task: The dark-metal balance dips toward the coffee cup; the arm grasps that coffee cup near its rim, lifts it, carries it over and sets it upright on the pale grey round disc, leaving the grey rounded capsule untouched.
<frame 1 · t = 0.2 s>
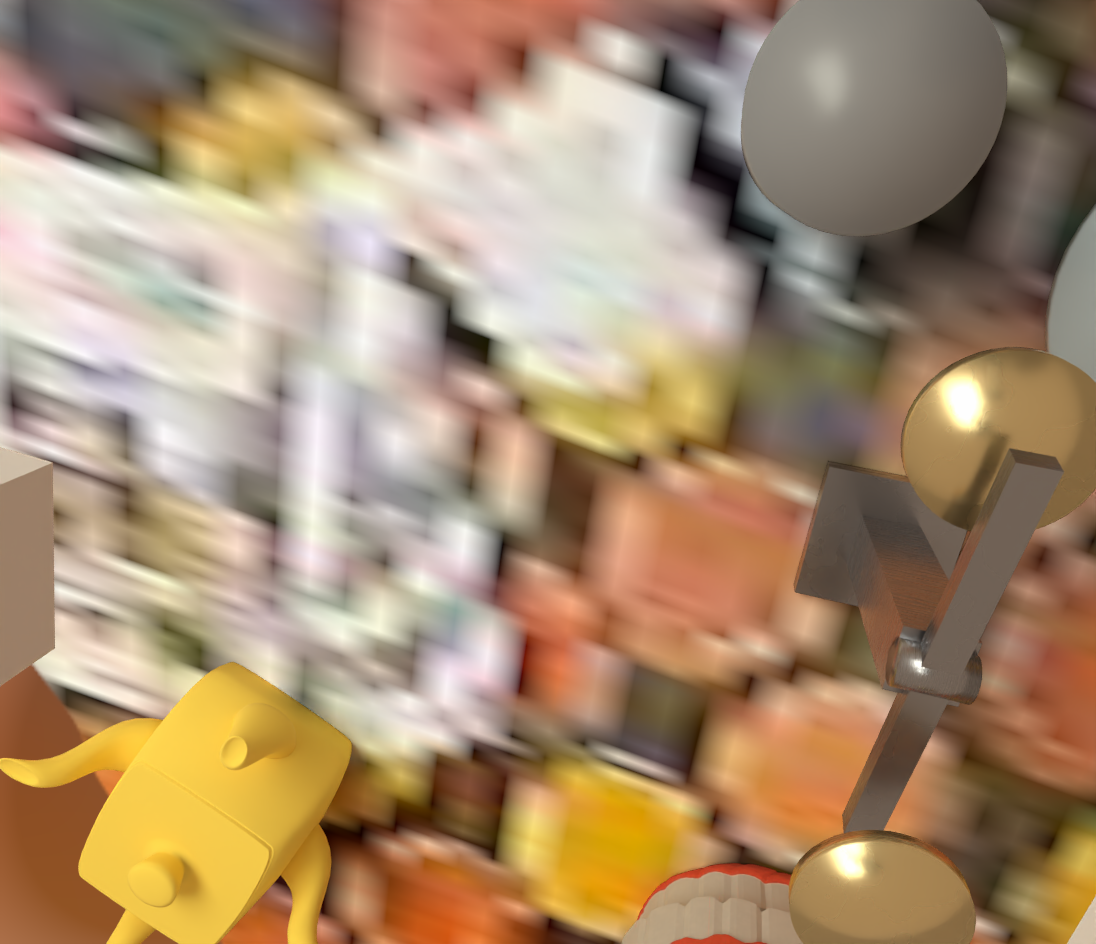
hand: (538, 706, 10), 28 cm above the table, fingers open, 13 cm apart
teapot: (260, 756, 49), on the table
toy: (715, 925, 46), on the table
balance: (880, 538, 37), on the table
grey rounded capsule: (835, 125, 32), on the table
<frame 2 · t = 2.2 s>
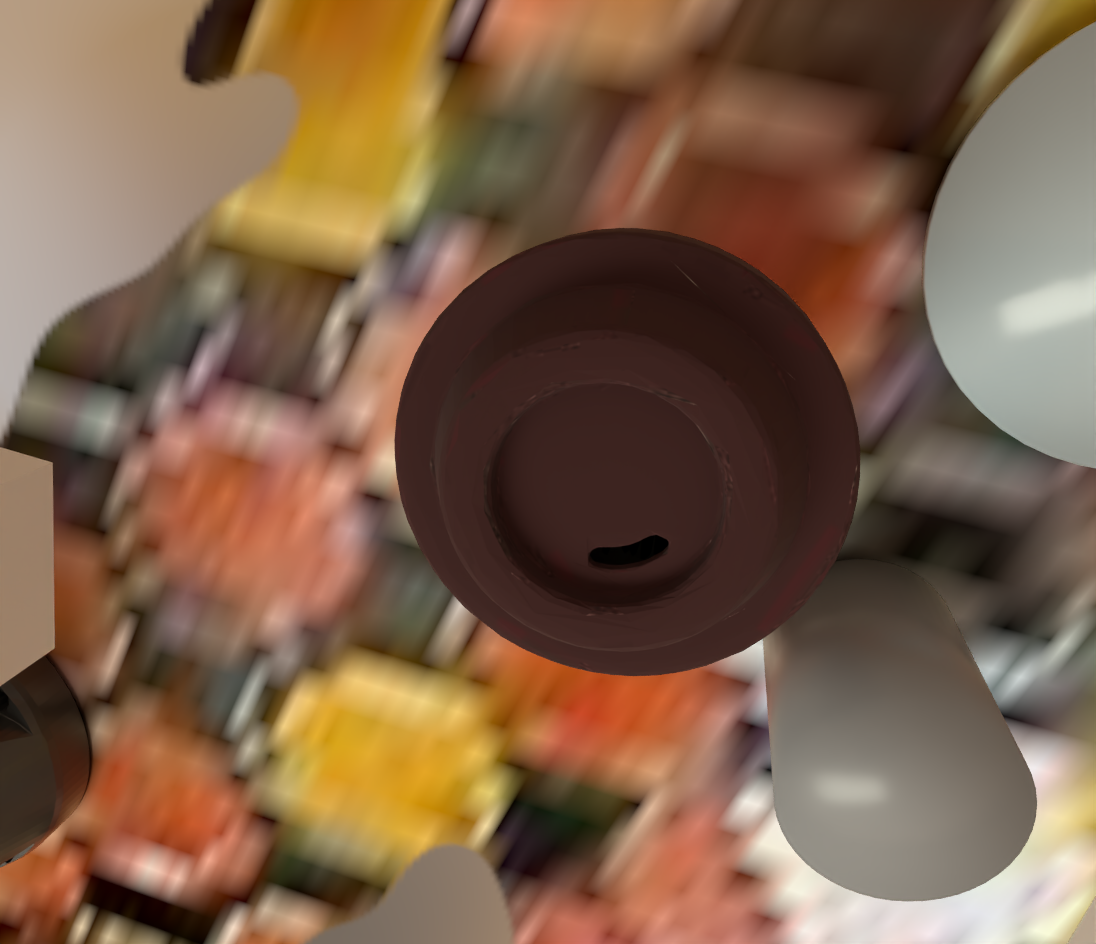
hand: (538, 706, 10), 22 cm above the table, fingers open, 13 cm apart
coffee cup: (662, 351, 30), on the table
grey rounded capsule: (857, 642, 32), on the table
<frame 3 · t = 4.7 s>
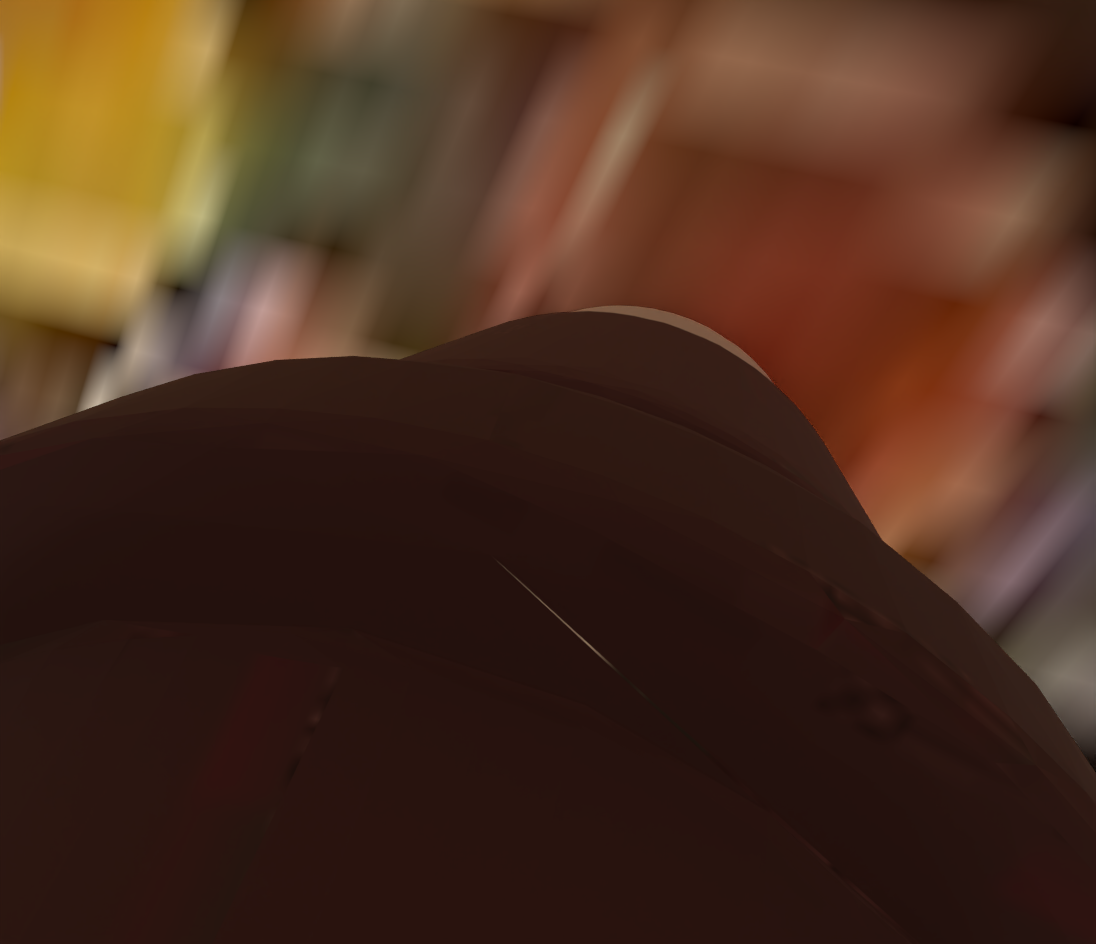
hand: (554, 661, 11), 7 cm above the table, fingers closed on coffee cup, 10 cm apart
coffee cup: (624, 474, 18), on the table, touching gripper
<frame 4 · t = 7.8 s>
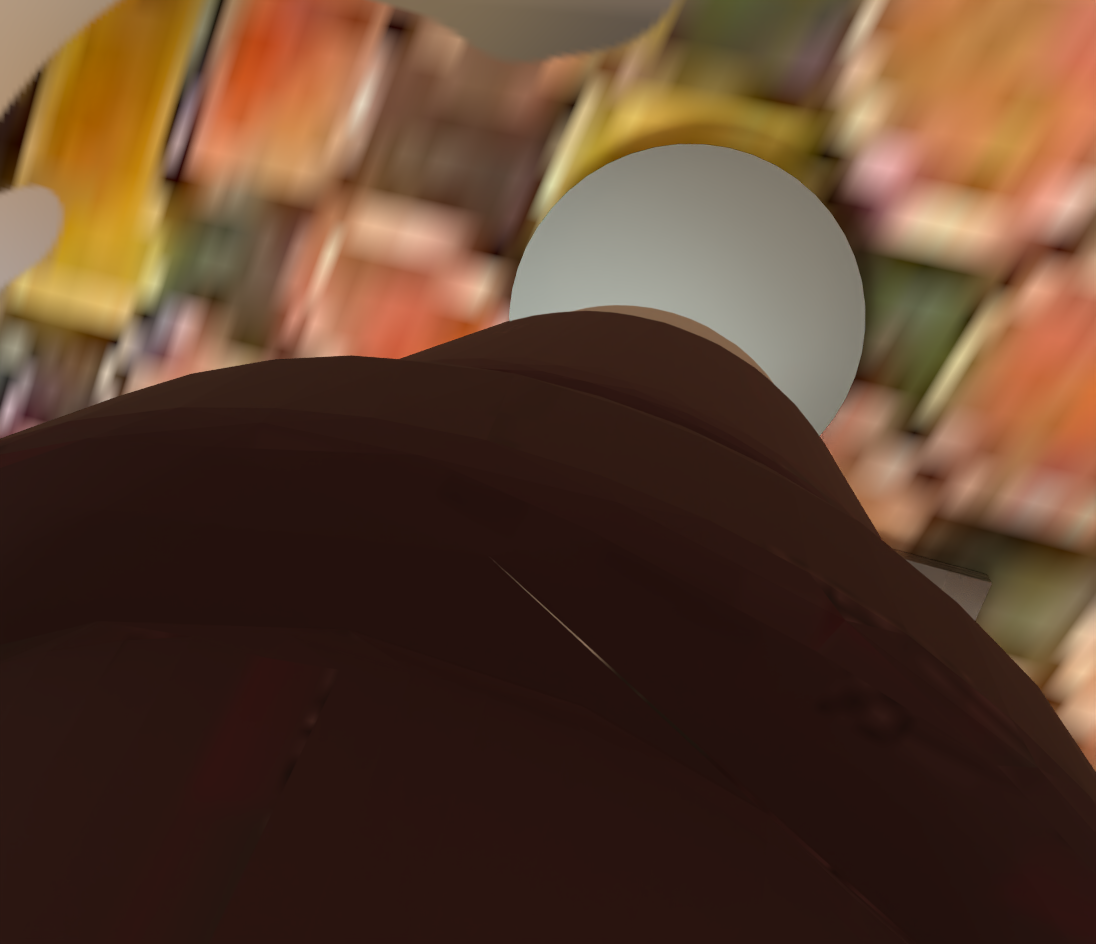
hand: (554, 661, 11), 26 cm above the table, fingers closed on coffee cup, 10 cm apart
pale grey round disc: (681, 327, 35), on the table
coffee cup: (624, 474, 18), point 19 cm above the table, touching gripper
balance: (890, 615, 37), on the table
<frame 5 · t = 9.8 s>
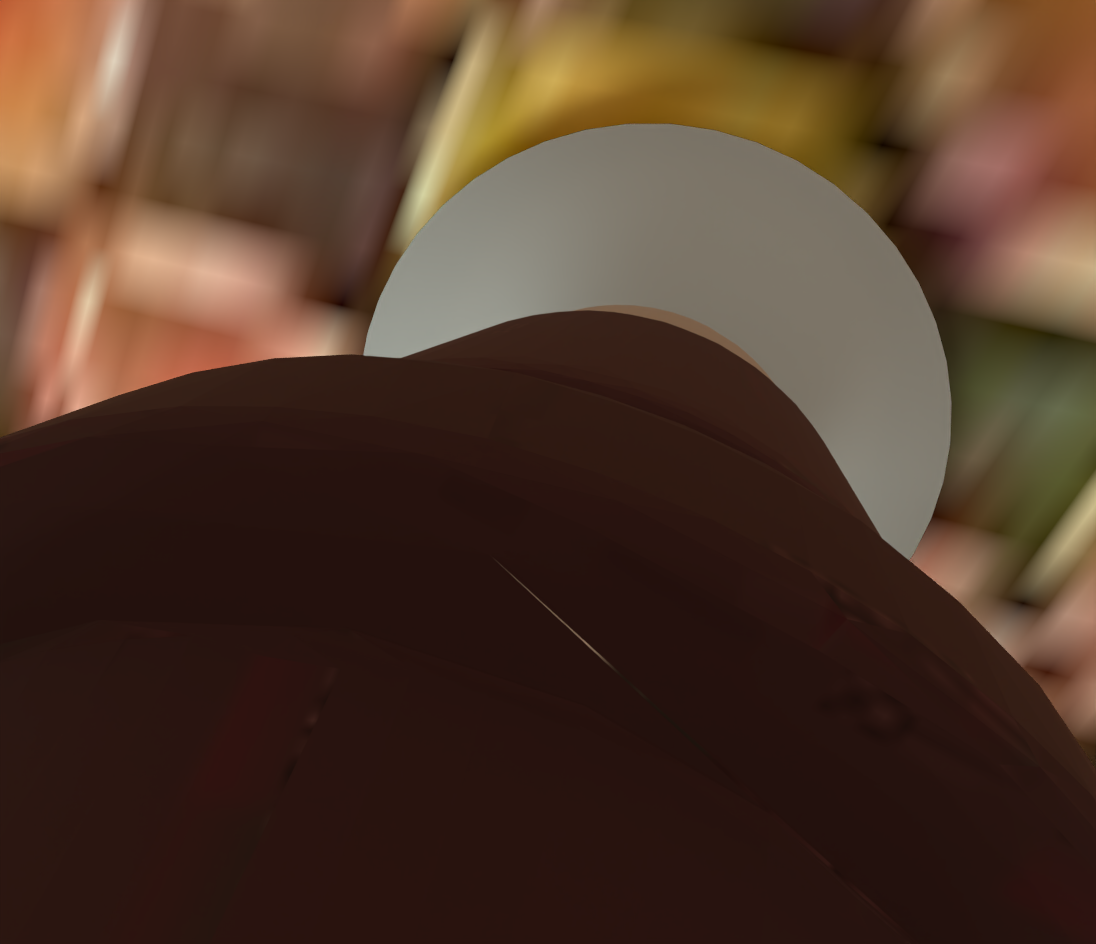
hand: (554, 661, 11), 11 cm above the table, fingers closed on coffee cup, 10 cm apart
pale grey round disc: (639, 426, 21), on the table
coffee cup: (624, 474, 18), point 4 cm above the table, touching gripper
when the fingers open (9 cm above the table, at t = 11.3 s): coffee cup stays where it is, resting on pale grey round disc.
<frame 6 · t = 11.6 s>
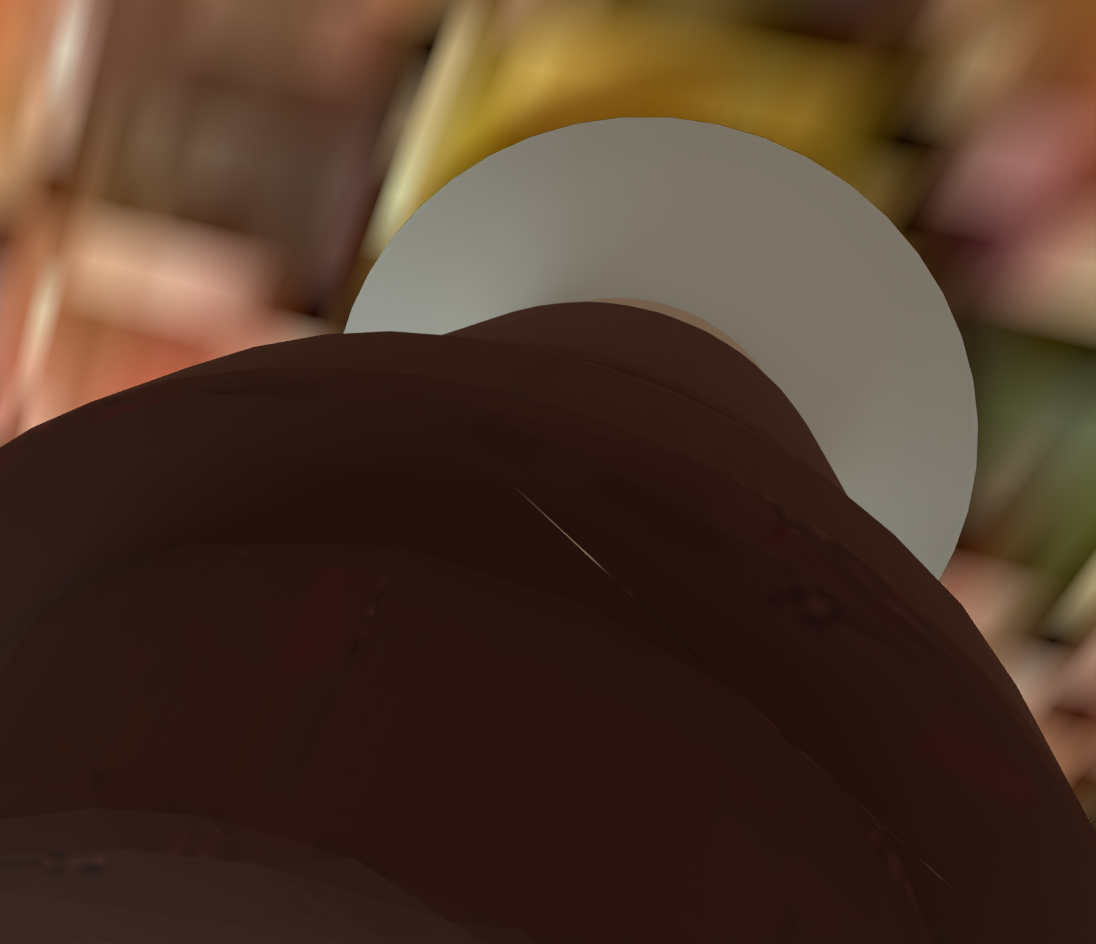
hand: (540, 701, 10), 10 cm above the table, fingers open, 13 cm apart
pale grey round disc: (635, 446, 20), on the table
coffee cup: (622, 459, 19), point 1 cm above the table, touching pale grey round disc
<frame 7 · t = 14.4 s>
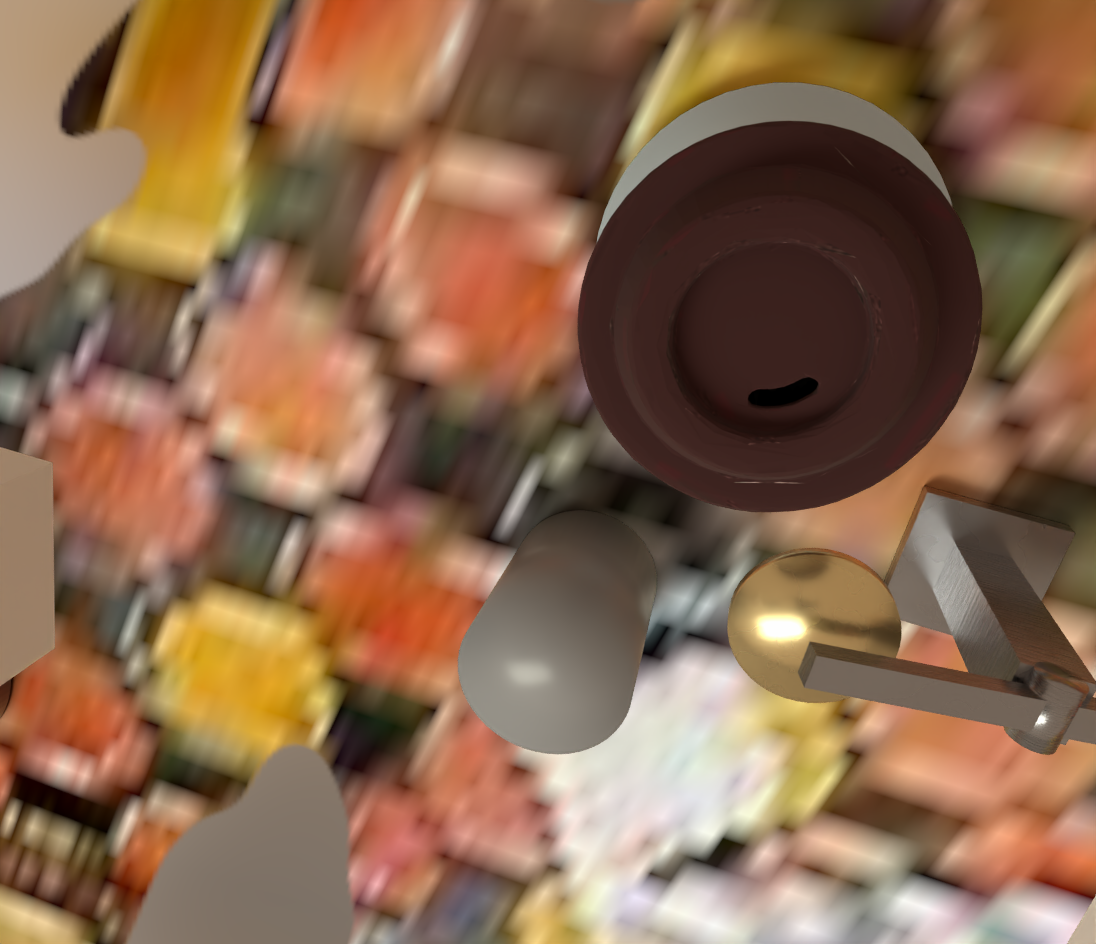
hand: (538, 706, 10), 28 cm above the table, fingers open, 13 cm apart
pale grey round disc: (766, 271, 35), on the table
coffee cup: (762, 273, 34), point 1 cm above the table, touching pale grey round disc
balance: (967, 566, 37), on the table
grey rounded capsule: (585, 577, 41), on the table
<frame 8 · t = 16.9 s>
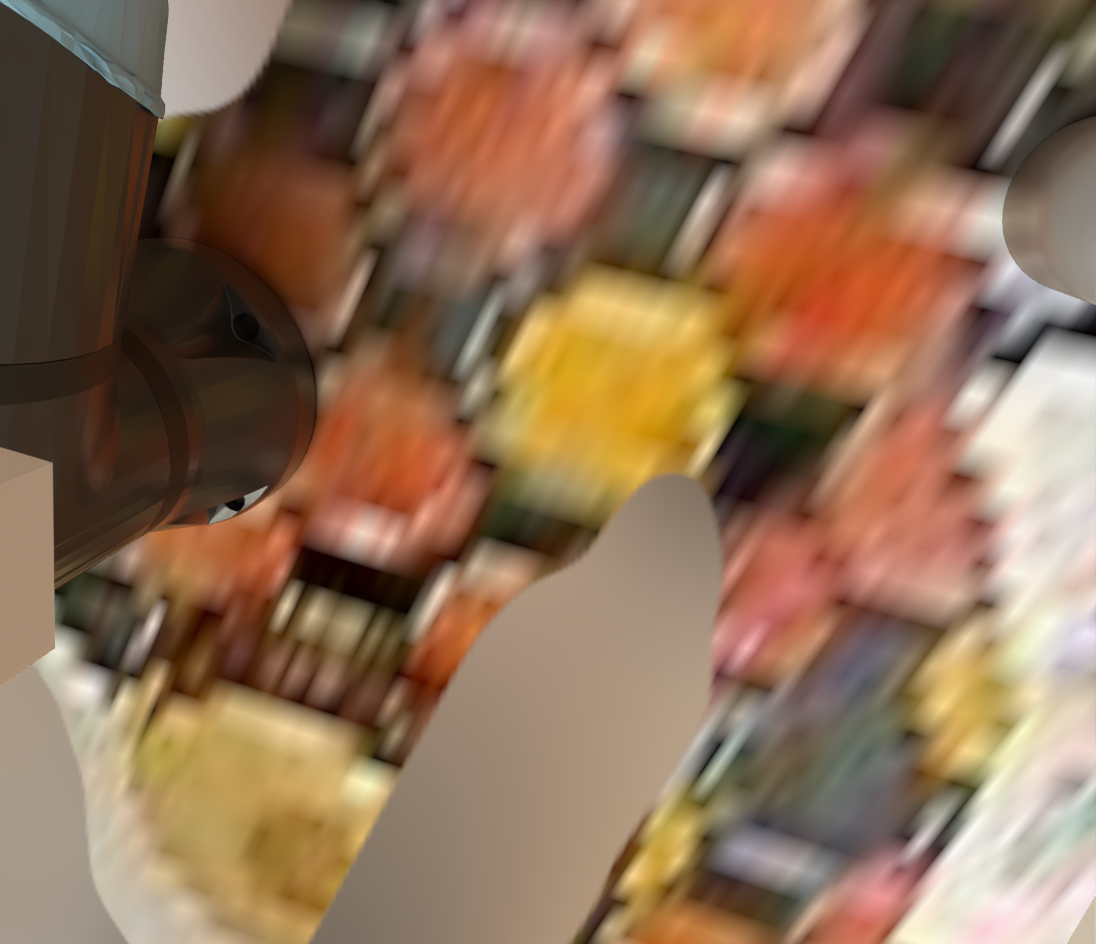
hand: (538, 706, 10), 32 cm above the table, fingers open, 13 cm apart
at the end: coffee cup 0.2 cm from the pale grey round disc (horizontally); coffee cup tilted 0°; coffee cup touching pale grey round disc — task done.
